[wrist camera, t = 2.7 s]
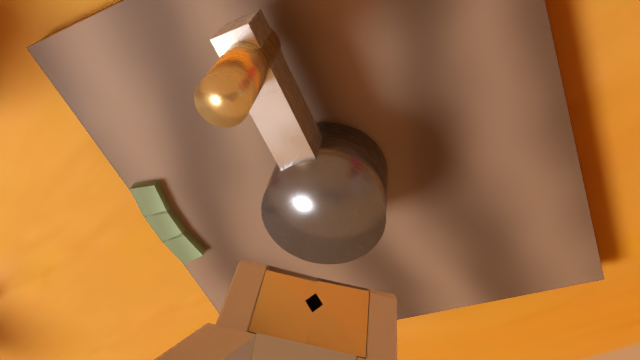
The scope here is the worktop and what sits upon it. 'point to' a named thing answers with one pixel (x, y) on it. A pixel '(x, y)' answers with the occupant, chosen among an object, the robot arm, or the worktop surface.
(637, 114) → the worktop surface
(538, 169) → the wooden board
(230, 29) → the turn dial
